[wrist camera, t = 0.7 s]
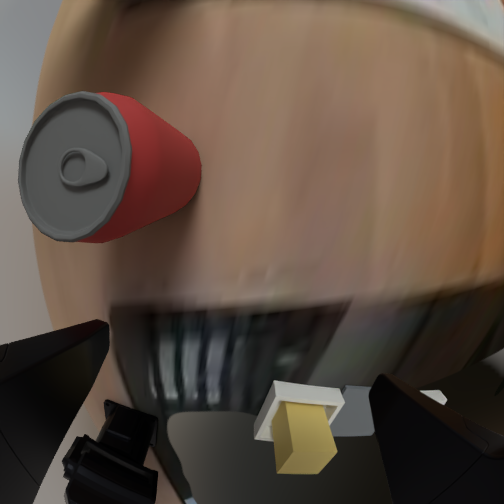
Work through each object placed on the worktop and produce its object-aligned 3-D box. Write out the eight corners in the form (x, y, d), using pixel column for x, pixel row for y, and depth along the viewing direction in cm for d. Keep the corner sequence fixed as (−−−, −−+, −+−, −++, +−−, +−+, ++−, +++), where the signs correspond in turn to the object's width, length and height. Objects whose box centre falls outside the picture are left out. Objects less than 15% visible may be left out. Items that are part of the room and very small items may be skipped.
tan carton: (306, 424, 25) (317, 474, 18) (271, 421, 25) (276, 473, 18) (321, 400, 24) (337, 451, 18) (284, 395, 24) (293, 451, 17)
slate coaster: (370, 432, 27) (371, 435, 26) (314, 432, 26) (315, 435, 26) (402, 387, 25) (404, 390, 25) (345, 385, 24) (346, 388, 24)
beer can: (192, 223, 20) (127, 276, 9) (115, 206, 20) (5, 237, 8) (212, 136, 19) (167, 78, 7) (131, 125, 18) (29, 83, 7)
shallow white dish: (312, 430, 26) (316, 444, 24) (253, 424, 25) (254, 439, 23) (339, 388, 24) (344, 402, 22) (273, 380, 24) (275, 395, 22)
